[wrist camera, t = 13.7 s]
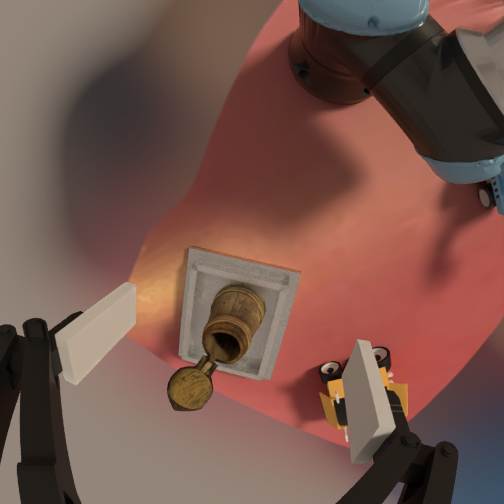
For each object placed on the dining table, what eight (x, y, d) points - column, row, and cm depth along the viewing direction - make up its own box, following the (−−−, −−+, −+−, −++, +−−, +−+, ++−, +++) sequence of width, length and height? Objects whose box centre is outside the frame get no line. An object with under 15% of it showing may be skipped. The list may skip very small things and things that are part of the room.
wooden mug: (189, 327, 51) (145, 391, 34) (232, 274, 47) (196, 332, 30) (228, 356, 52) (200, 428, 35) (276, 308, 48) (262, 379, 31)
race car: (314, 362, 51) (316, 401, 41) (393, 340, 48) (409, 376, 38) (329, 413, 54) (331, 451, 44) (397, 395, 51) (409, 431, 41)
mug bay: (191, 245, 48) (183, 251, 45) (300, 271, 47) (300, 279, 43) (180, 352, 55) (173, 362, 51) (270, 376, 53) (268, 388, 50)
